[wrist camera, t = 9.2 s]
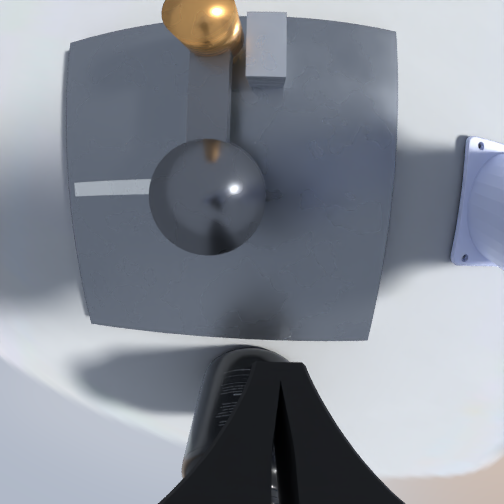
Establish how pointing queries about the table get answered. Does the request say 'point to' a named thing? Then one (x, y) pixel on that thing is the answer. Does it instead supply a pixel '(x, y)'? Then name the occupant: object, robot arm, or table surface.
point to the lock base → (270, 163)
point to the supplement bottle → (223, 403)
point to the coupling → (207, 141)
